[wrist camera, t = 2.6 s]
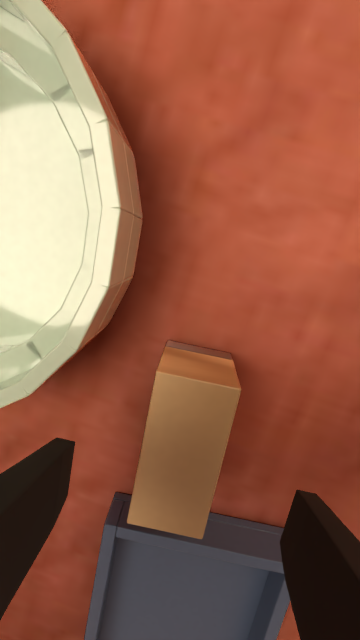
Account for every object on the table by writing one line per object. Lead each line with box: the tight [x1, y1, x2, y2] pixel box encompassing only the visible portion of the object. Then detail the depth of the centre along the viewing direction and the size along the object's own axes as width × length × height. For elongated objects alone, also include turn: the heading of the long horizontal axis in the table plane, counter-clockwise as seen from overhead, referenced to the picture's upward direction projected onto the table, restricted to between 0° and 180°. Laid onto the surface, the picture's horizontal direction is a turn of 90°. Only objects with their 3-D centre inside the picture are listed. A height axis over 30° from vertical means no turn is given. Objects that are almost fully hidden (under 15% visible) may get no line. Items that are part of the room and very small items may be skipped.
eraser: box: [127, 340, 241, 539], centre depth 14 cm, size 3×6×4 cm, turn 169°
